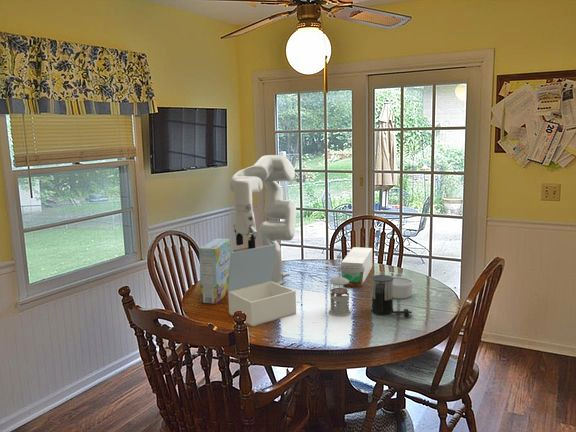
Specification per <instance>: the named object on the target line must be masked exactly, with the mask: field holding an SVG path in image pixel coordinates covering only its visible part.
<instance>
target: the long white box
mask: <svg viewBox="0 0 576 432" xmlns="http://www.w3.org/2000/svg"><path fill="white" fill-rule="evenodd" d="M341 265H342V266H344V267H351V266H353V267H357V268H361V267H363V266H364V268H365V271H364V272H363V281H362V285H363V284H364V283H363V282H365V281H366V279H367V278H368V275H369V274H370V271H372V268H373V247H357V246H356V247H354V246H353V247H352V248H351V250H350V251H349V252H348V253H347V254H346V255H345V257H344V259H342V261H341V262H340V266H341ZM340 277H342V271H341V272H340Z"/></svg>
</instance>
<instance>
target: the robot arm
mask: <svg viewBox="0 0 576 432" xmlns="http://www.w3.org/2000/svg"><path fill="white" fill-rule="evenodd" d="M295 173H296V172H295V168H294V166H293V163H292V162H291V161H290V160H289V159H288V158H287V157H286V156H285V155H282V154H268V155H267V154H266V155H262V156H261V157H260V158H259V159H258V160H257V161H256V162H255V163H254V164H253V165H252V166H248V167H245V168H243V169H240V170H238V171H237V172H235V174H234V175H232V177H231V179H230V181H229V189H230V190H231V192H232V193H233V194H234V212H235V214H234V215H235V216H234V224H233V229H234V231H233V232H234V233H235V244H236V246H241V245H244V236H247V238H248V240H247V248H248V249H252V248H255V246H256V238H257V234H258V232H259V238H260V242H261V243H260V245H263V246H268V245H273V244H276V247H275V255H274V262H273V270H272V278H271V281H272V282H275V283H277V284H280V285H282V286H283V285H284V284H285V282H286V280H285V278H286V277H289V276H290V275H291V274H290V272H288V271H287V272H282V249H281V246H280V244H279V242H278V241H280V242H281V241H283V242H284V241H285V242H287V241H292V240H293V239H294V237H295V231H296V219H297V206H296V203H295V202H294V201H293V200H290V199H289V200H288V199H287V200H286V199H283V197H284V190H283V188H282V186H281V185H280V184H279V183H278V182H291V181H293V180H294V178H295V175H296V174H295ZM264 186H265V187H264ZM263 187H264V188H265V202H264V203H265V204H264V216H265V218H268V219H271V220H265V221H262V222H261V223H260V225H259V228H258V231H257V227H256V226H257V225H256V219H255V213H254V207H253V205H254V203H253V195H254V194H259V193H260V192H261V191H262V190H263ZM279 220H283V221H279ZM284 220H285V221H284ZM243 235H244V236H243ZM269 282H270V281H269ZM264 283H266V282H264ZM260 284H261V283H260Z"/></svg>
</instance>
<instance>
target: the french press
mask: <svg viewBox="0 0 576 432" xmlns="http://www.w3.org/2000/svg"><path fill="white" fill-rule="evenodd" d="M336 258H337V259H338V276H337V277H333V278H332V279H330V280H329V282H330V285H329V292H330V294H329V295H330V296H329V297H330V309H329V310H328V311H327V314H328V315H330V316H331V317H336V318H337V317H338V318H341V317H343V318H344V317H349V316H350V315H351V314H352V311H351V310H350V294H349V289H348V288H346V287H341V286H343V285H346V284H348V283H349V280H347V279H346V278H343V277H341V272H340V271H341V270H340V267H341V262H340V260H341V259H342V255H341V254H338V255H336ZM332 285H333V287H332ZM335 286H338V287H335ZM331 287H332V288H331Z"/></svg>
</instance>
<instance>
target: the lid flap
mask: <svg viewBox="0 0 576 432" xmlns="http://www.w3.org/2000/svg"><path fill="white" fill-rule="evenodd" d="M275 247H276V244H273V245H268V246H263V245H262V244H260V245H255V248H252V249H248V247H244V248H239V249H234V250H232V251H231V257H230V268H229V279H228V289H227V291H233V290H237V289H241V288H245V287H249V286H253V285H257V284H260V283H264V282H269V281H271V278H272V270H273V262H274V255H275Z"/></svg>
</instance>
